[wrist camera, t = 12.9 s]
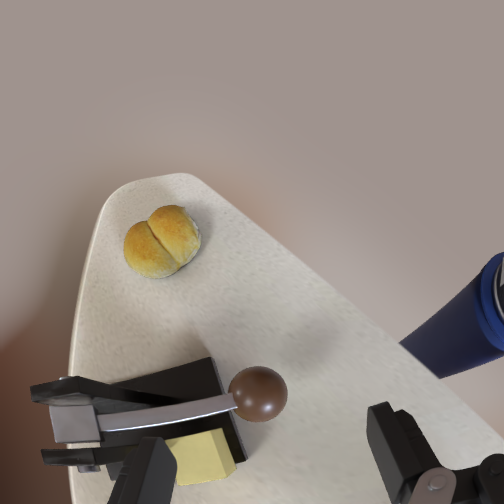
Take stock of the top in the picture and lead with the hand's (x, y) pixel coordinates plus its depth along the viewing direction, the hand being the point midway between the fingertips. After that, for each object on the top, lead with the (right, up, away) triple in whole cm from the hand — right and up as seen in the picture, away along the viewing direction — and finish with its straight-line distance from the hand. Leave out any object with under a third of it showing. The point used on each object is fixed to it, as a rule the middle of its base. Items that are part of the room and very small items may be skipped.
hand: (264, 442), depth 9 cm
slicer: (-9, -9, +13) cm, 19 cm away
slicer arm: (-6, -4, +8) cm, 10 cm away
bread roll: (-10, +8, +24) cm, 27 cm away
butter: (-4, -10, +11) cm, 15 cm away
